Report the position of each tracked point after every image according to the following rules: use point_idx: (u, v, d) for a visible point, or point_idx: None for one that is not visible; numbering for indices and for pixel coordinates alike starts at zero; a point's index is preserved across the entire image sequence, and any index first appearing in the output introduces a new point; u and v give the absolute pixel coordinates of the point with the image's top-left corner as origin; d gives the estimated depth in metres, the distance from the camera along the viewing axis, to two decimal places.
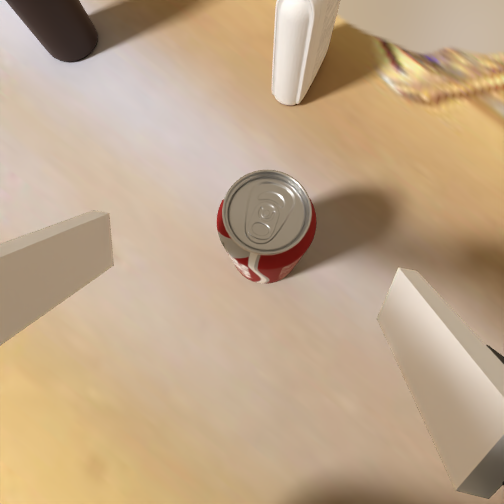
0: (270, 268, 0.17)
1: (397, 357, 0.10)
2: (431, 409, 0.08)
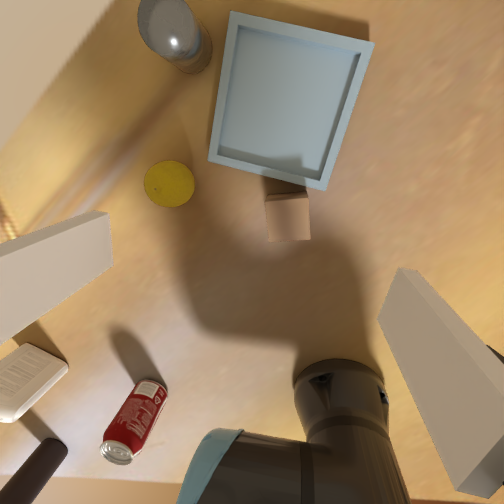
0: (141, 445, 0.43)
1: (397, 357, 0.10)
2: (431, 409, 0.08)
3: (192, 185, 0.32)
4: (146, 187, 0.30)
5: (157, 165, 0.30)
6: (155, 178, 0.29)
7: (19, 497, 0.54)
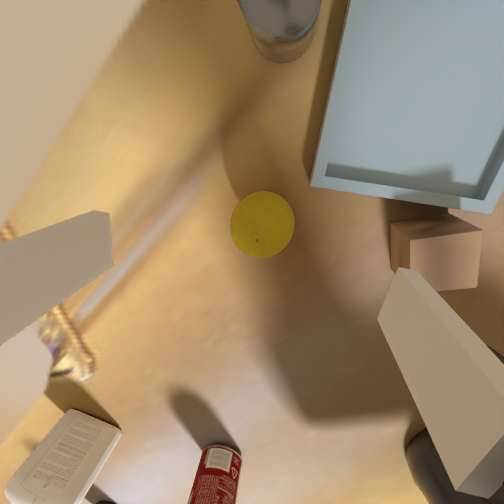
0: None
1: (397, 357, 0.10)
2: (431, 409, 0.08)
3: (294, 223, 0.23)
4: (239, 236, 0.21)
5: (252, 203, 0.20)
6: (254, 224, 0.20)
7: None
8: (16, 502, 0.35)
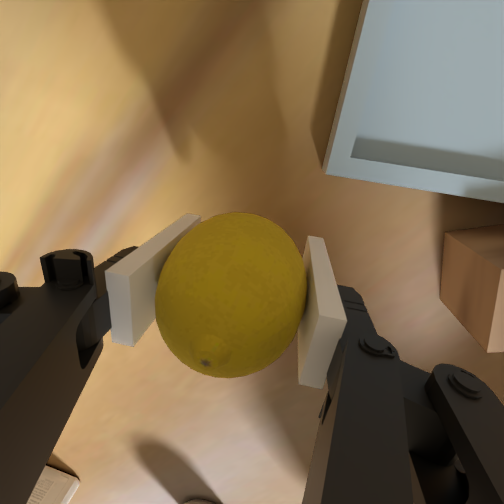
0: None
1: None
2: (300, 334, 0.10)
3: None
4: (166, 337, 0.08)
5: (200, 251, 0.08)
6: (200, 315, 0.07)
7: None
8: None
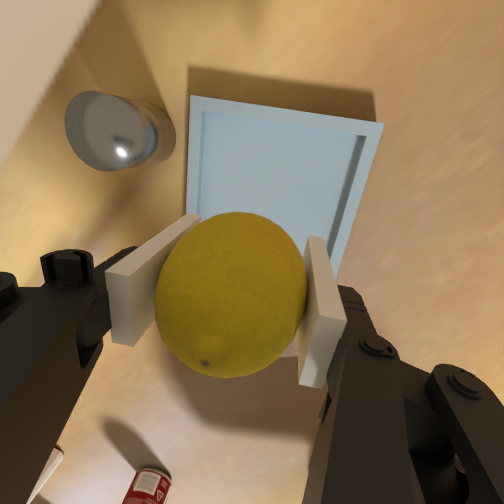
0: None
1: None
2: (300, 334, 0.10)
3: None
4: (165, 337, 0.08)
5: (199, 251, 0.08)
6: (200, 315, 0.07)
7: None
8: None
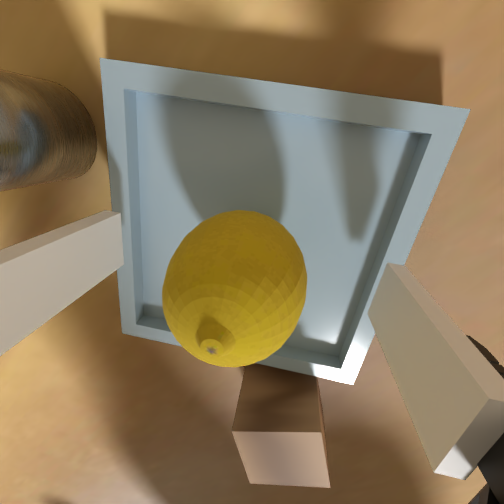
0: None
1: (384, 349, 0.10)
2: (413, 397, 0.08)
3: None
4: (173, 327, 0.08)
5: (205, 246, 0.08)
6: (206, 305, 0.07)
7: None
8: None
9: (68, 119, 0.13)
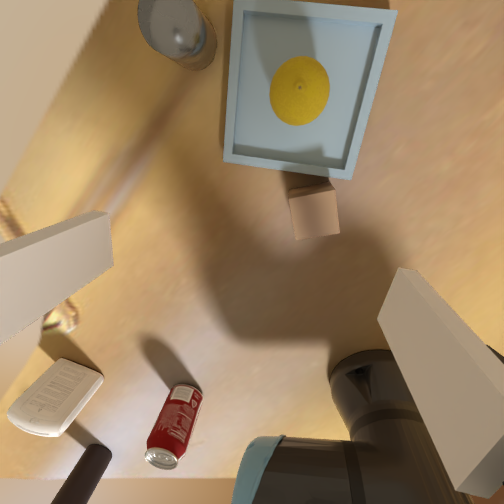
0: (184, 449, 0.43)
1: (397, 357, 0.10)
2: (431, 408, 0.08)
3: None
4: (281, 91, 0.22)
5: (293, 59, 0.22)
6: (297, 73, 0.21)
7: (73, 502, 0.57)
8: (16, 421, 0.44)
9: (211, 29, 0.26)
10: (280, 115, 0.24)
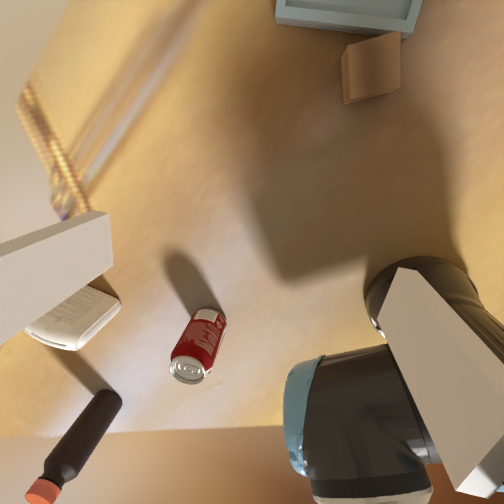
0: (211, 362, 0.40)
1: (397, 357, 0.10)
2: (431, 409, 0.08)
3: None
4: None
5: None
6: None
7: (83, 441, 0.53)
8: (32, 329, 0.41)
9: None
10: None
